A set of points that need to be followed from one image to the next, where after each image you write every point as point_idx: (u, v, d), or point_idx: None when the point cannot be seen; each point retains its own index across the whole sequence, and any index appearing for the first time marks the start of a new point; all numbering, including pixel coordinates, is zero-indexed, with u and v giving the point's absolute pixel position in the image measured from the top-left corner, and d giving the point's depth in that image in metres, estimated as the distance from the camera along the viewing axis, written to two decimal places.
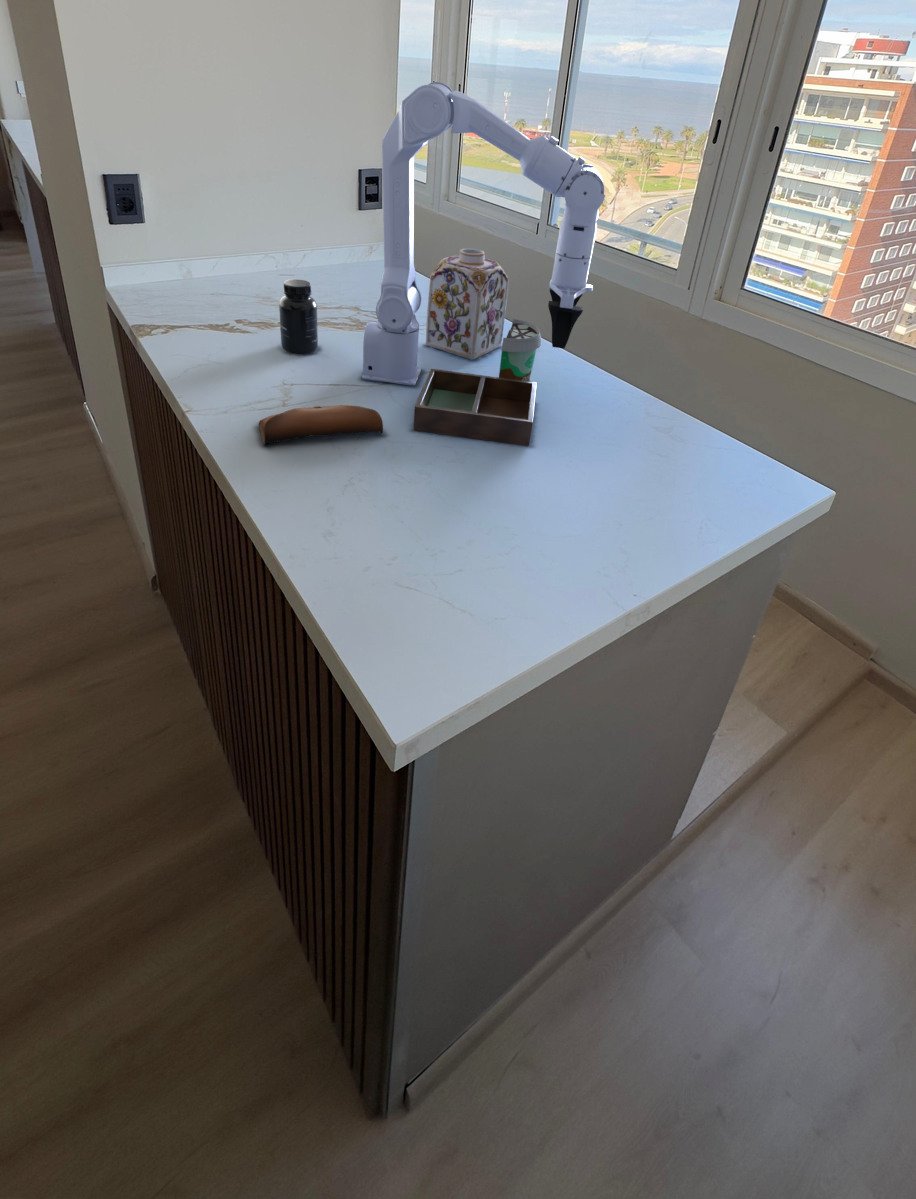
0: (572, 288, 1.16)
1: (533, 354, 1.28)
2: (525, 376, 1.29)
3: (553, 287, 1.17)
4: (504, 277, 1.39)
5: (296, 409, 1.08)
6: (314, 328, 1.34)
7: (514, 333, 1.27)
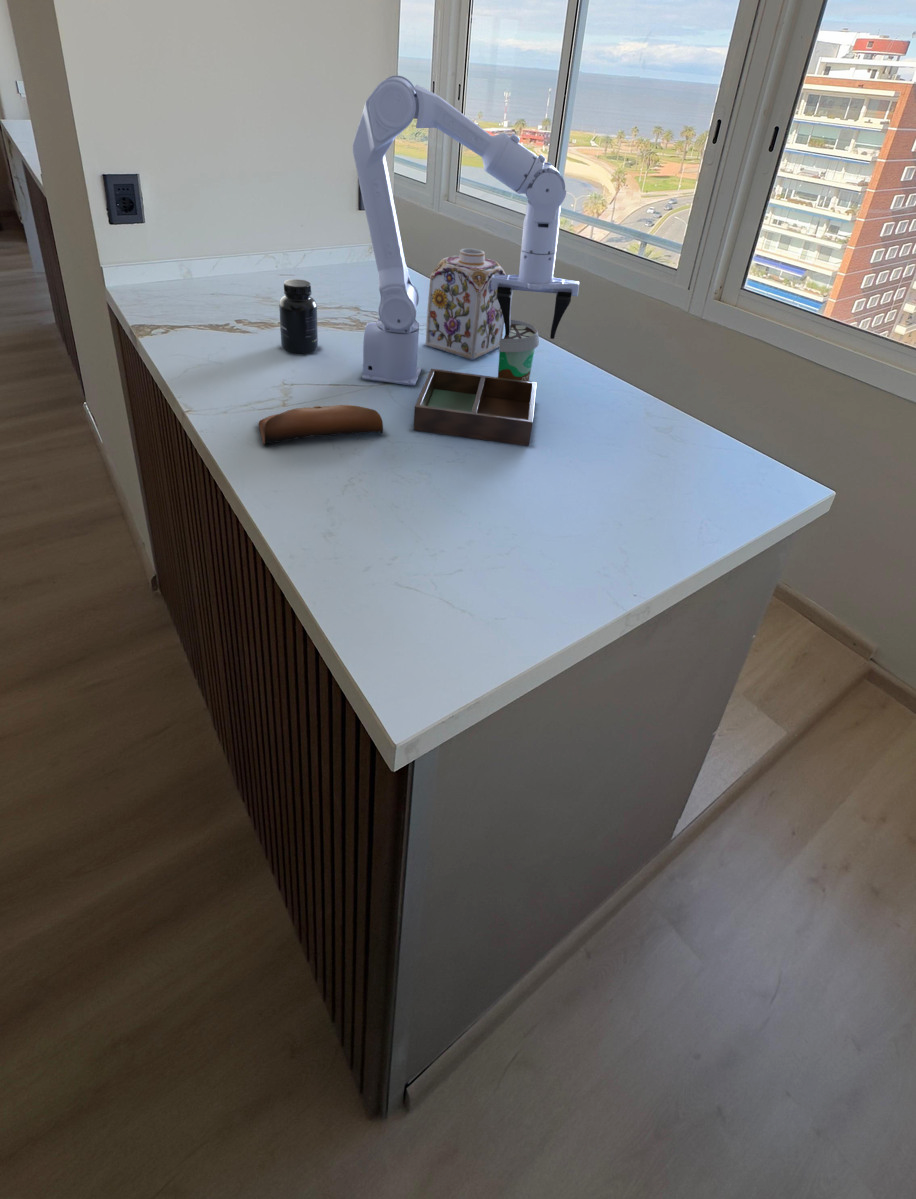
0: (518, 278, 1.21)
1: (531, 354, 1.28)
2: (524, 376, 1.29)
3: None
4: None
5: (296, 409, 1.08)
6: (314, 328, 1.34)
7: (511, 333, 1.27)
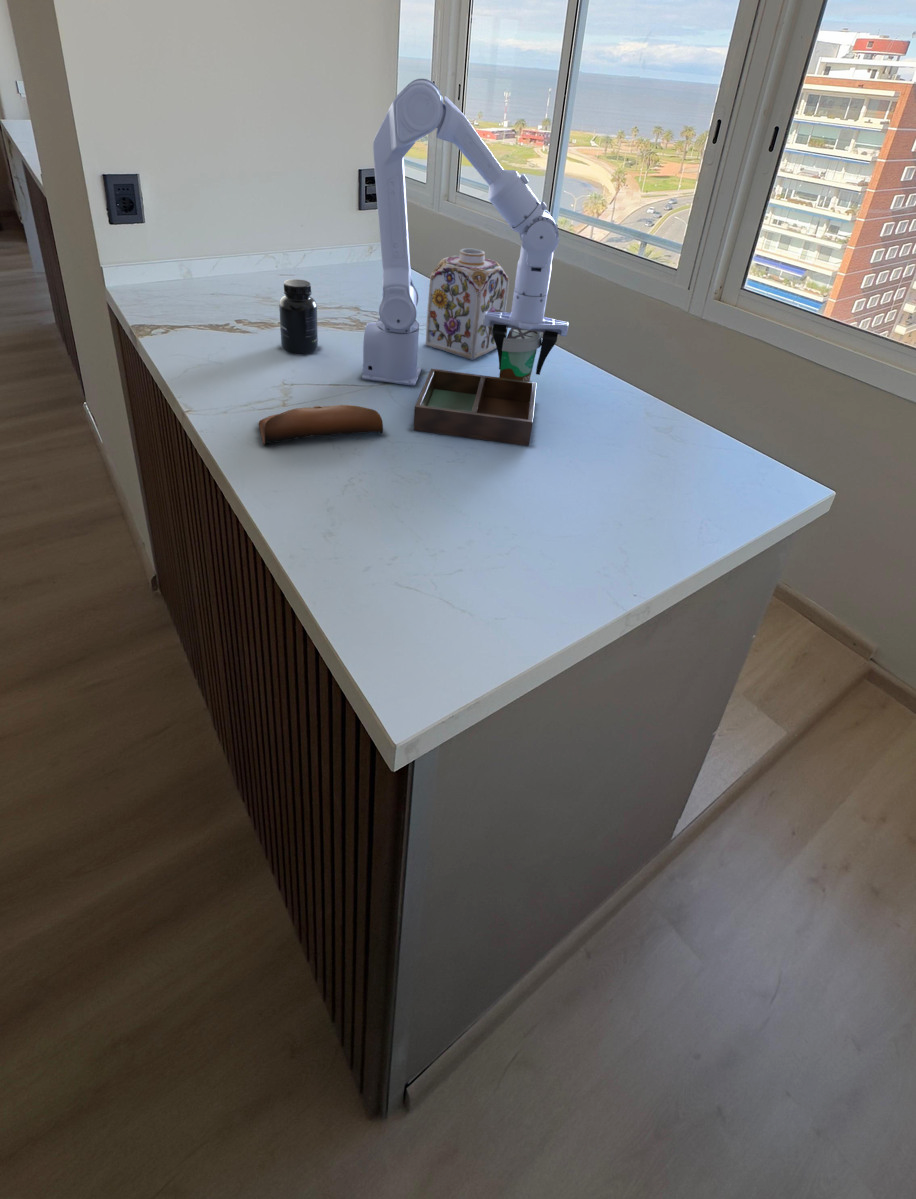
0: (510, 317, 1.25)
1: (533, 354, 1.28)
2: (525, 376, 1.29)
3: None
4: (504, 277, 1.39)
5: (296, 409, 1.08)
6: (314, 328, 1.34)
7: (514, 333, 1.27)
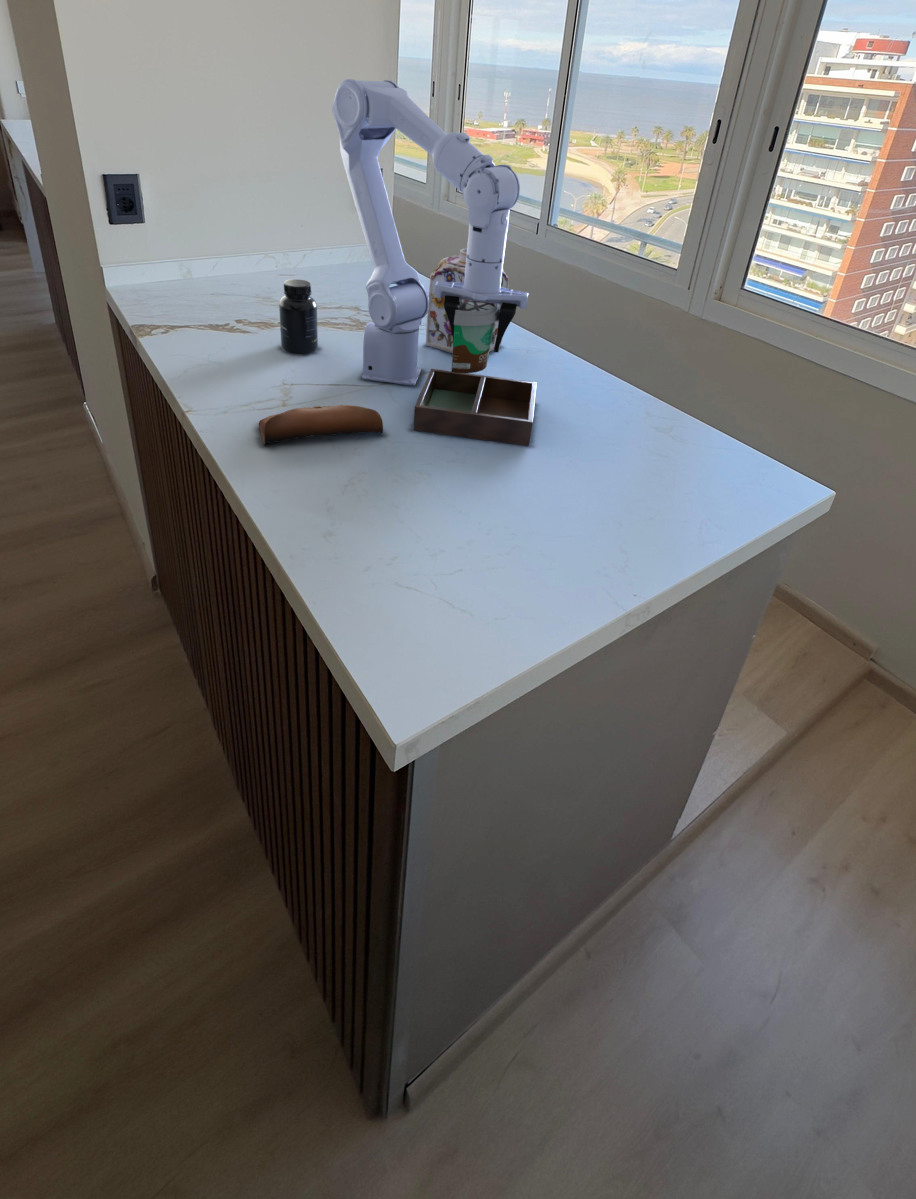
0: (463, 287, 1.12)
1: (490, 329, 1.15)
2: (482, 354, 1.16)
3: None
4: (504, 277, 1.39)
5: (296, 409, 1.08)
6: (314, 328, 1.34)
7: (468, 305, 1.14)
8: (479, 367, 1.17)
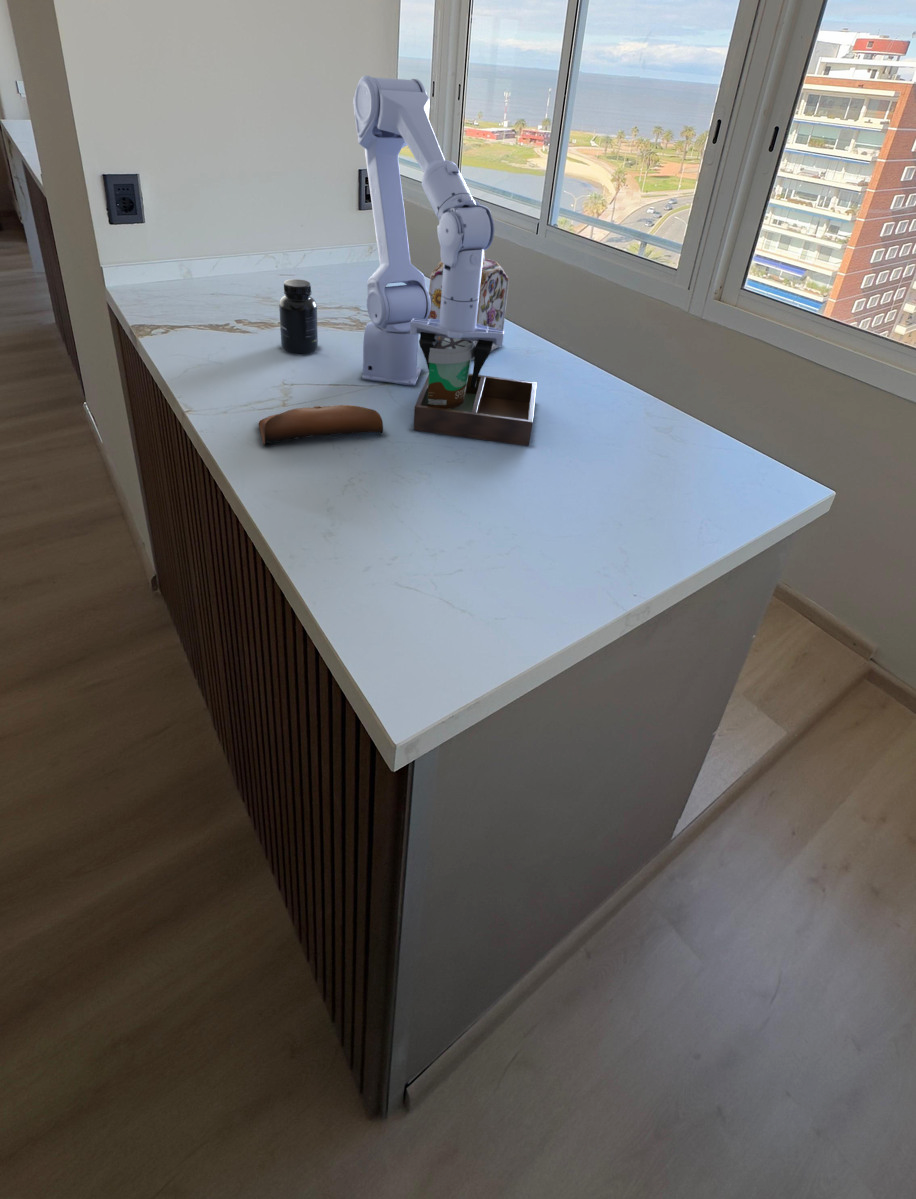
0: (438, 324, 1.12)
1: (466, 366, 1.14)
2: (458, 390, 1.16)
3: None
4: (504, 277, 1.39)
5: (296, 409, 1.08)
6: (314, 328, 1.34)
7: (444, 342, 1.14)
8: (456, 403, 1.17)
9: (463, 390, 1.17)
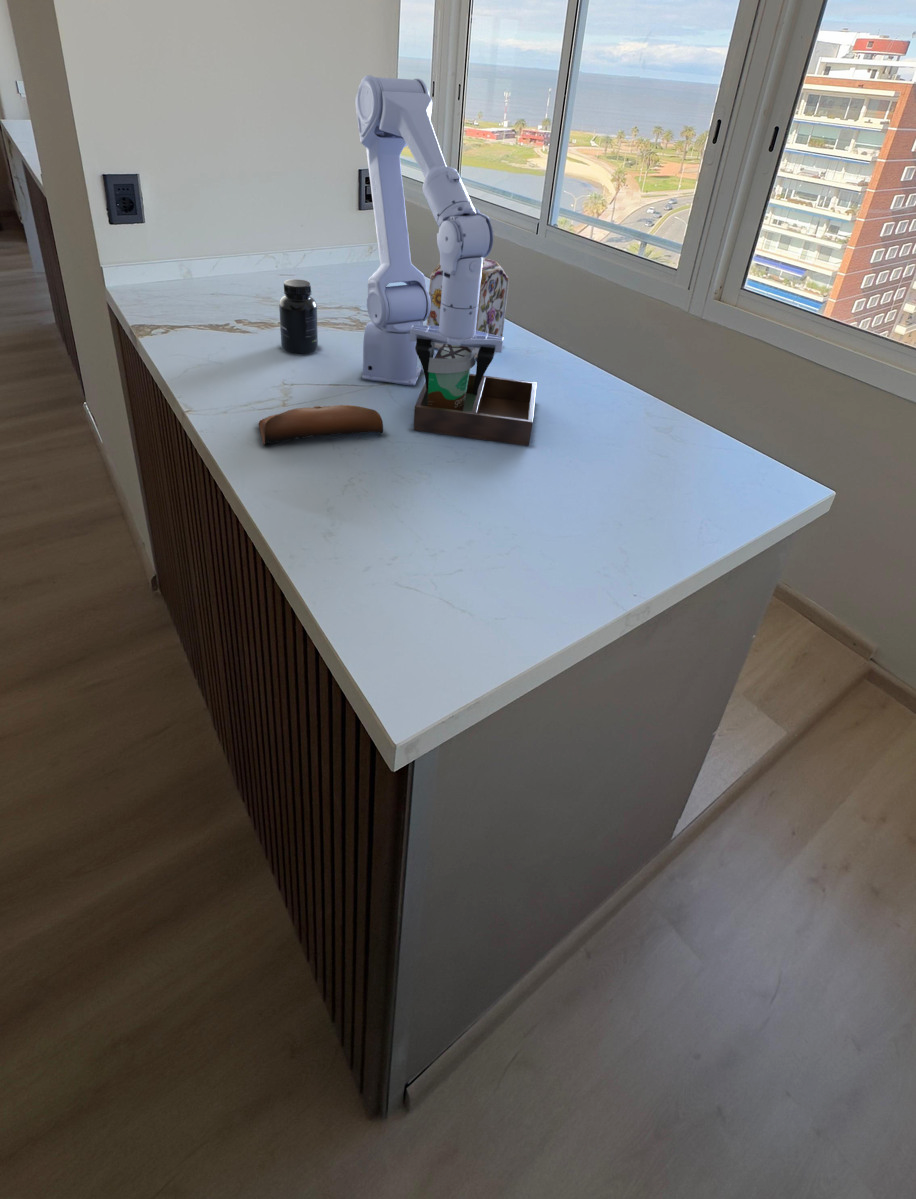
0: (438, 331, 1.12)
1: (466, 375, 1.15)
2: (457, 399, 1.17)
3: None
4: (504, 277, 1.39)
5: (296, 409, 1.08)
6: (314, 328, 1.34)
7: (444, 351, 1.15)
8: None
9: (462, 399, 1.18)
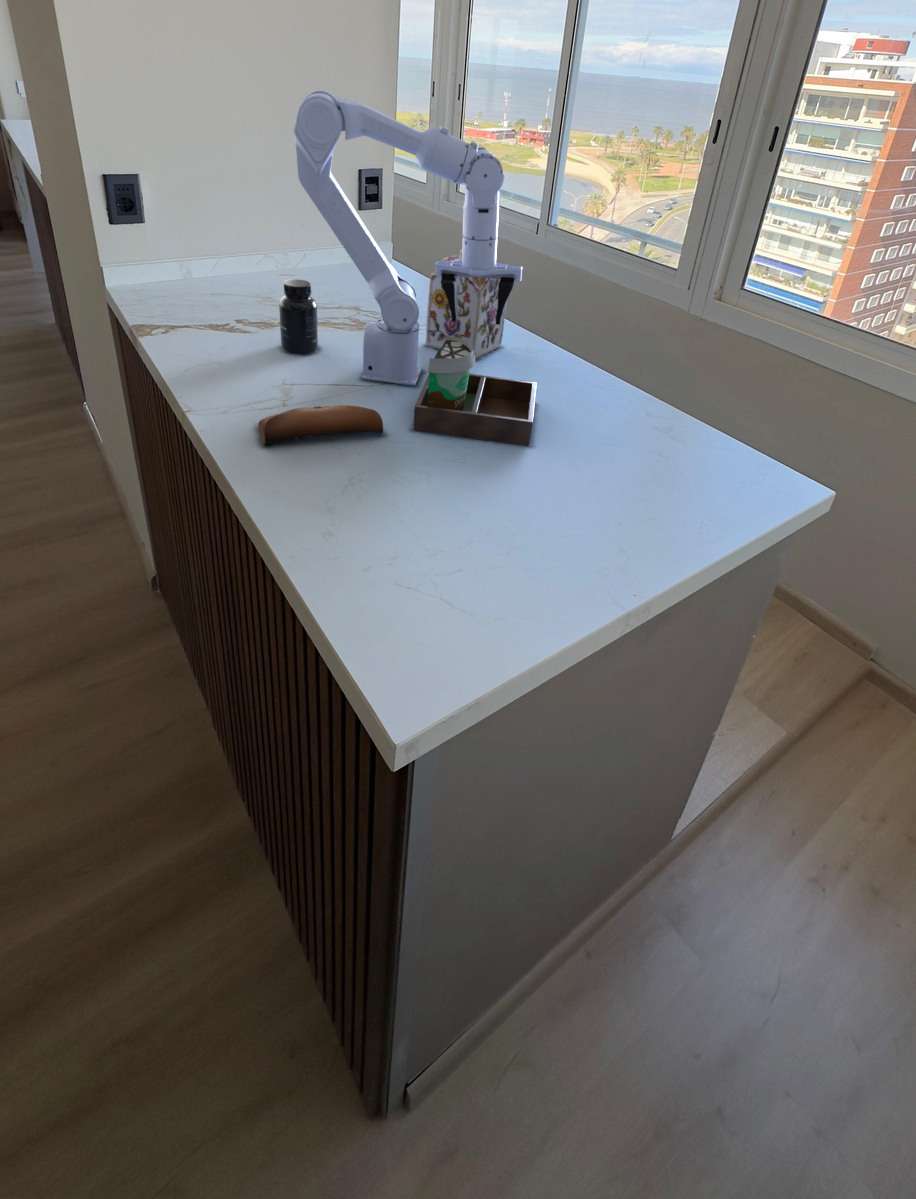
0: (461, 265, 1.21)
1: (466, 375, 1.15)
2: (457, 399, 1.17)
3: None
4: None
5: (296, 409, 1.08)
6: (314, 328, 1.34)
7: (444, 351, 1.15)
8: None
9: (462, 399, 1.18)
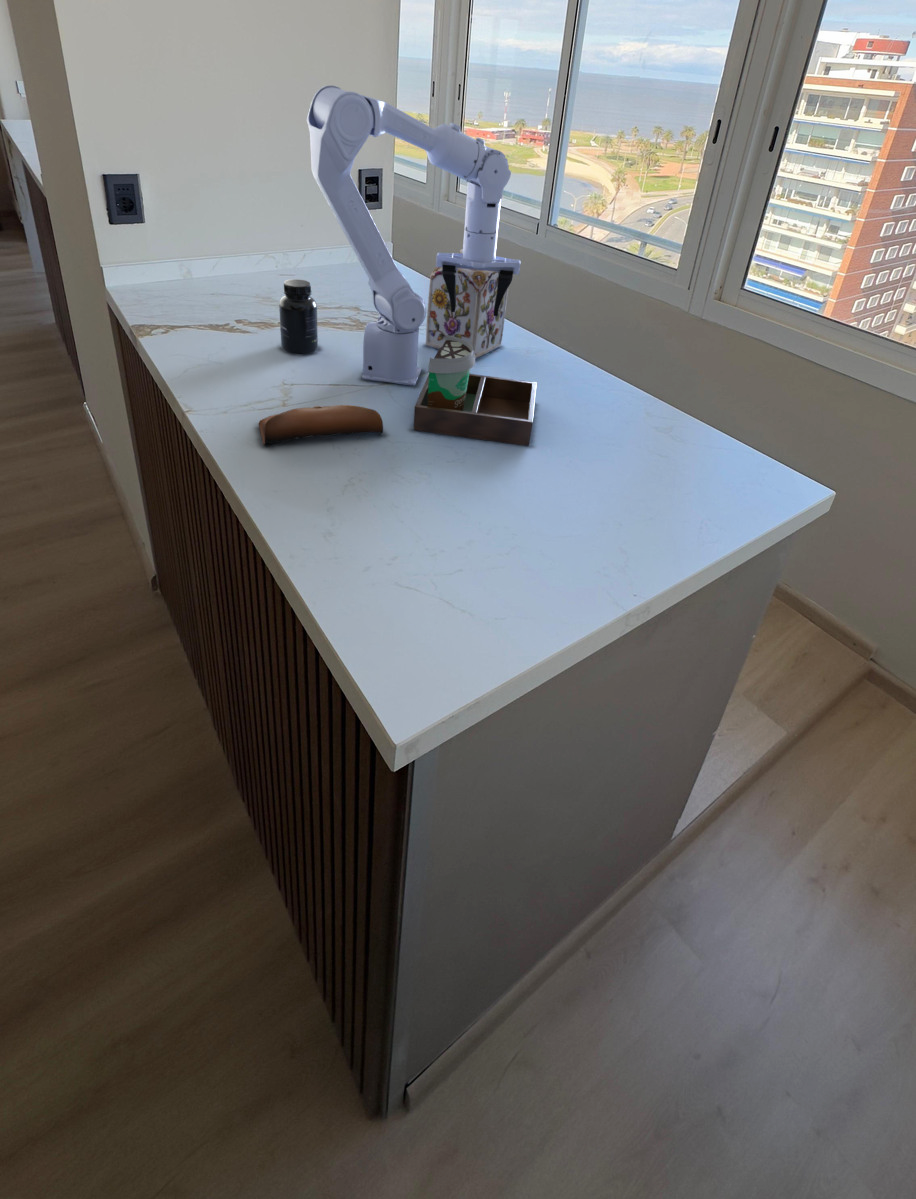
0: (462, 257, 1.25)
1: (466, 375, 1.15)
2: (457, 399, 1.17)
3: None
4: None
5: (296, 409, 1.08)
6: (314, 328, 1.34)
7: (444, 351, 1.15)
8: None
9: (462, 399, 1.18)
